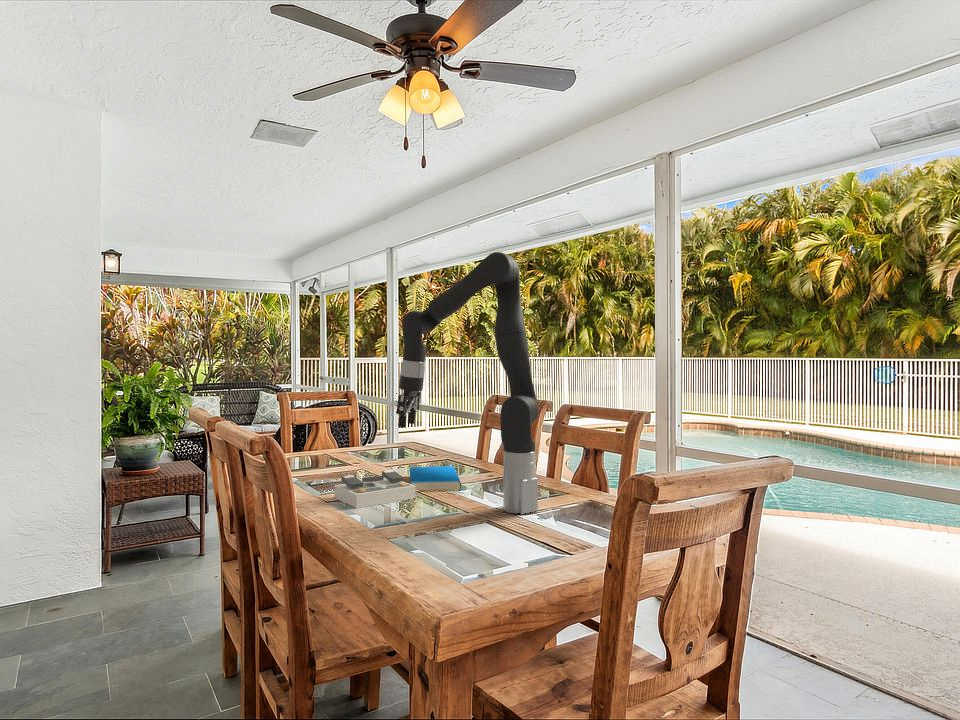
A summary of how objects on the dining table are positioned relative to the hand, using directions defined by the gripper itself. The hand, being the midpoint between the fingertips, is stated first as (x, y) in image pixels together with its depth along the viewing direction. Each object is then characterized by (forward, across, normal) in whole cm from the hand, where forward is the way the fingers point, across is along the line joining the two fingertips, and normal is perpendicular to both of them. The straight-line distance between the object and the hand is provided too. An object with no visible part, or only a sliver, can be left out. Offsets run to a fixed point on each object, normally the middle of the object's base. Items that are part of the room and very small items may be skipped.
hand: (406, 425), depth 188 cm
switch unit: (+24, -4, +6) cm, 25 cm away
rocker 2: (+18, -3, +8) cm, 20 cm away
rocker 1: (+18, -9, +12) cm, 24 cm away
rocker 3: (+18, +2, +4) cm, 18 cm away
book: (+24, +21, -5) cm, 32 cm away
